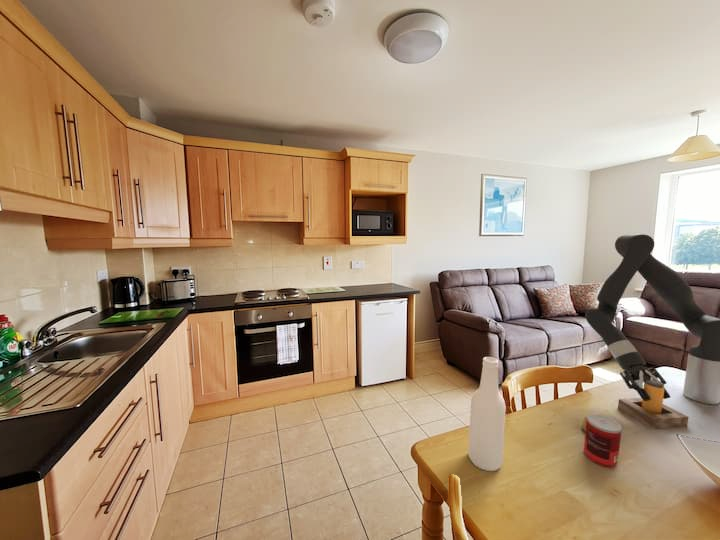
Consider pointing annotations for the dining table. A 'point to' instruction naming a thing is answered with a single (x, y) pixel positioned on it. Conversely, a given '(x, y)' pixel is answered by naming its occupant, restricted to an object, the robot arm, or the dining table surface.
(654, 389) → the orange travel mug
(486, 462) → the alcohol
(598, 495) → the dining table surface
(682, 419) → the wooden square frame
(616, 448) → the canned food
